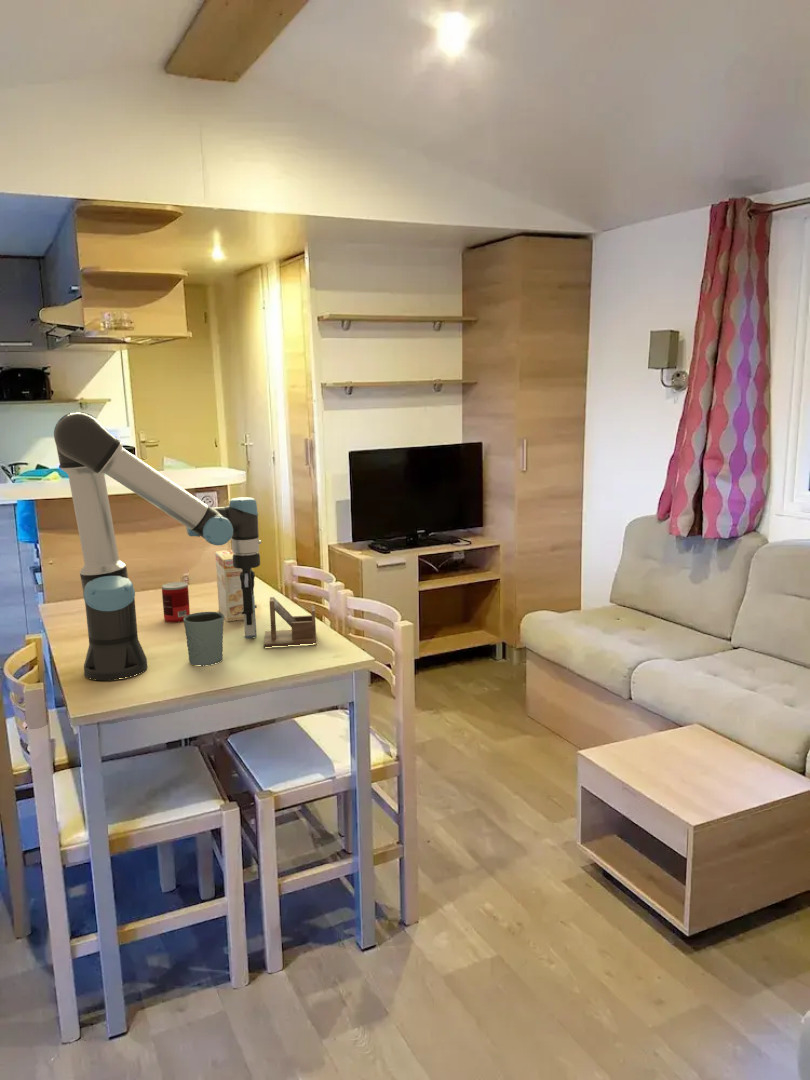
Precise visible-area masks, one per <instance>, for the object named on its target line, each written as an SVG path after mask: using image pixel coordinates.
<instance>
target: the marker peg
mask: <svg viewBox="0 0 810 1080" xmlns="http://www.w3.org/2000/svg"><path fill="white" fill-rule="evenodd" d="M252 596H253V610H254V623H255V635H250V636H245V635H244V637H246V638H245V639H254V638H253V637H255V638H257V624H256V623H257V621H256V608H255V605H256V601H255V594H254V595H252ZM243 609H244V607H243ZM243 624H244V627H245V622H244V621H243Z"/></svg>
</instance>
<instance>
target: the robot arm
mask: <svg viewBox="0 0 810 1080" xmlns="http://www.w3.org/2000/svg"><path fill="white" fill-rule="evenodd" d="M53 438H54V442H55V446H56V452H57V457H58V462H59V467H60V470H61V471H63V472H65V473H66V474H67V475H68V479H69V481H68V482H69V486H70V493H71V499H72V503H73V508H74V514H75V518H76V519H75V520H76V524H77V530H78V537H79V542H80V546H81V553H82V559H83V563H84V564H83V567H82V568H81V569H80V570H79V576H80V581H81V586H82V587H81V588H82V596H83V600H84V605H85V614H86V624H87V625H86V626H87V637H88V649H87V651H86V656H85V661H84V664H83V674H84V677H85V676H86V677H88V678H91V679H96V680H113V681H115V680H114V679H119V678H125V677H130V676H133V677H135V676H134V675H136V674H139V673H141V672H142V673H144V672H145V671H147V669H148V658H147V656H146V654H145V652H144V649H143V646H142V645H141V643H140V640H139V637H138V636H139V635H138V624H137V613H136V601H135V596H136V590H135V588H134V583H133V582H132V581H131V579H129V575H128V574H129V573H128V569H127V564H126V563H125V562H123V561H122V560H121V559H120V557H119V553H118V552H119V551H118V546H117V541H116V535H115V529H114V528H115V527H114V522H113V517H112V516H113V515H112V510H111V506H110V501H109V500H110V499H109V494H108V489H107V482H106V476H109V477H110V478H112V479H113V480H115V481H116V482H118V483H119V484H121V485H122V486H124V487H125V488H127V489H128V490H130V491H131V492H133V493H134V494H136V495H137V496H139V497H141V498H142V499H143V500H145V501H147V502H148V503H150V504H151V505H153V506H154V507H156V508H157V509H159V510H161V511H162V512H164V513H165V514H166V515H168V516H170V517H171V518H172V519H174V520H176V521H177V522H178V523H180V524H182V525H184V526H185V527H186V533H187V535H188V536H189V537H198V538H199V537H201V538H202V539H205V541H206V542H207V543H209V544H211V545H213V546H223V545H225V544H227V543H228V542H229V541H230V540H231V541H230V542H231V550H232V552H233V553H234V554H233V566H234V567H235V568H238V569H239V568H241V569H242V572H240V580H241V589H242V591H243V607H244V610H243V612H242V614H244V620H243V623H244V622H245V626H244V637H245V636H250V635H255V623H254V610H253V596H252V595H254V596H255V592H254V588H255V571H253V570H252V569H255V568H258V567H260V565H261V555H260V553H259V551H260V545H261V544H262V541H261V539H260V540H259V512H258V505H257V504H258V503H257V500H256V499H255V498H254V497H245V496H240V497H234V498H231V499H230V500H229V503H228V505H226V506H219V507H218V506H217V507H210V506H209V505H208V504H206V503H205V502H203V501H201V500H200V499H199V498H197V497H196V496H195V495H193V494H191V493H190V492H189V491H187V490H186V489H184V488H182V487H181V486H179V485H178V484H177V483H175V482H174V481H172V479H171V480H170V478H168V477H166V476H165V475H163V474H162V473H161V472H159V471H158V470H156V469H155V468H153V466H150V465H149V464H147V463H145V461H143V460H141V459H140V458H139V457H137V456H136V455H135V454H133V453H131V452H130V451H128V450H127V449H125V448H124V447H123V442H122V440H120V439H118V438H117V437H115V436H114V435H112V434H111V433H110V432H109V431H108V430H107V429H106V428H105V427H104V426H103V425H102V424H101V423H100V421H99V420H98V418H96V417H94V416H93V415H92V414H89V413H86V412H83V411H74V412H68V413H67V414H64V415H63V416H62V417H60V419H58V421H57V422H56V424H55V426H54V430H53ZM257 607H258V606H257V604H255V609H257ZM143 671H144V672H143ZM142 673H141V674H142ZM139 675H140V674H139ZM136 676H137V675H136ZM86 677H85V678H86ZM88 678H87V679H88ZM130 678H131V677H130ZM91 679H90V680H91ZM96 680H95V681H96Z"/></svg>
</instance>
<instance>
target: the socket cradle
mask: <svg viewBox="0 0 810 1080" xmlns="http://www.w3.org/2000/svg"><path fill="white" fill-rule="evenodd" d="M310 609H311V615H297V616H293V615H292V614H291V613H290V612H289V611H288V610H287V609H286V608H285V607H284V606H283V605H282V604H281V603H280V602H279V601H278V600H277V599H276V598H275V596H270V597H269V618H270V630H266V631H265V634H264V640H263V641H264V642H263V648H264V647H272V646H288V645H300V644H313V643H316V644H317V632H316V631H317V630H316V629H317V627H316V607H315V605H311V606H310ZM276 613H277V614H278V615H279V617H280V618H282V619H283V620H284V622H286V623H287V624H288V626H289V627H291V629H287V630H286V629H285V630H282V629H281V630H277V628H276V627H277V623H276Z"/></svg>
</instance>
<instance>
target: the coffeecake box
mask: <svg viewBox="0 0 810 1080" xmlns="http://www.w3.org/2000/svg"><path fill="white" fill-rule="evenodd" d="M214 553H215V554H214V555H215V570H216V585H217V586H216V588H217V601H218V602H217V603H218V604H217V605H218V611H219V613H221V614H223V615H224V619H225V621H226V622H228V621H229V622H235V621H236V620H237V621H244V614H242V612H243V610H244V609H243V591H242V589H241V580H240V572H242V569H241V568H239V569H238V568H235V567H234V566H233V554H234V553H233V552H232V549H223V550H215V552H214Z"/></svg>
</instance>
